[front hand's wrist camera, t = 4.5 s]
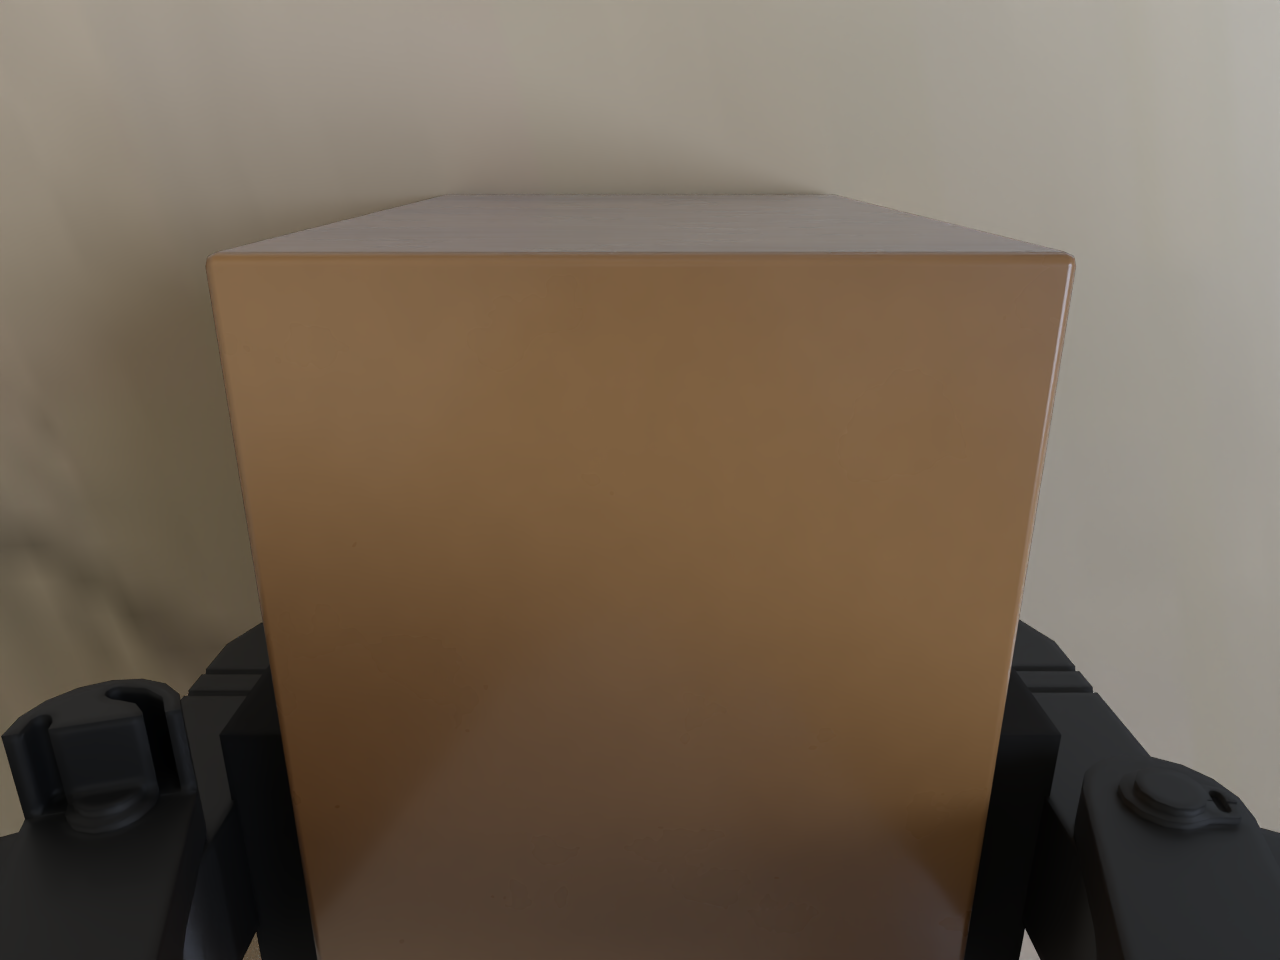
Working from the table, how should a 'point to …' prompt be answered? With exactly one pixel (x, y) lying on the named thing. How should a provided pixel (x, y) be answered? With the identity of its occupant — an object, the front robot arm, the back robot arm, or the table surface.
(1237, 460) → the table surface
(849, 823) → the post
